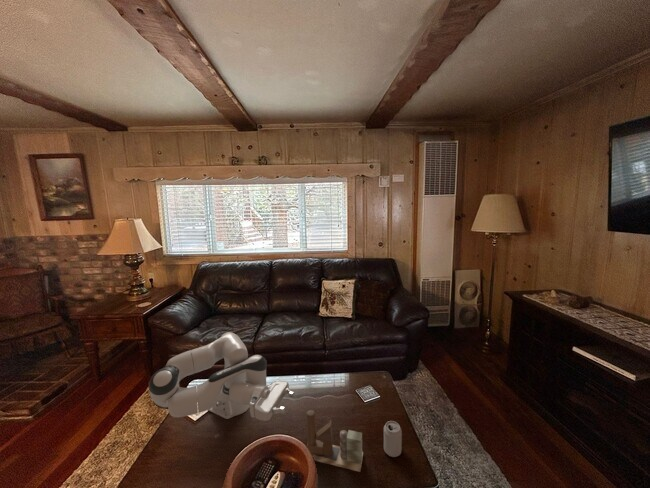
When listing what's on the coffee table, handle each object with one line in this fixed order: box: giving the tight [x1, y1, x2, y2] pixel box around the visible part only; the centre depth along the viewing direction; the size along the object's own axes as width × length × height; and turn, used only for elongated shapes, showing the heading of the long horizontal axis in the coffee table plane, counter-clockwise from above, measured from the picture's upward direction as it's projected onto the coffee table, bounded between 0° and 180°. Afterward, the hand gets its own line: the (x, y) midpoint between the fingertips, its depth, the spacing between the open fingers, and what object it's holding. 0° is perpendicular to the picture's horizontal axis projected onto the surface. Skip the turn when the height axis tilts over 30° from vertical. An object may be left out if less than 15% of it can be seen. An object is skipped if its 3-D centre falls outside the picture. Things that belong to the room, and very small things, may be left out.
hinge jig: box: [312, 429, 364, 473], centre depth 113 cm, size 24×8×12 cm, turn 74°
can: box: [383, 420, 403, 458], centre depth 115 cm, size 8×8×12 cm
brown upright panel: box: [306, 409, 334, 456], centre depth 114 cm, size 4×11×18 cm, turn 79°
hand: (289, 402), depth 115 cm, fingers open, 8 cm apart
